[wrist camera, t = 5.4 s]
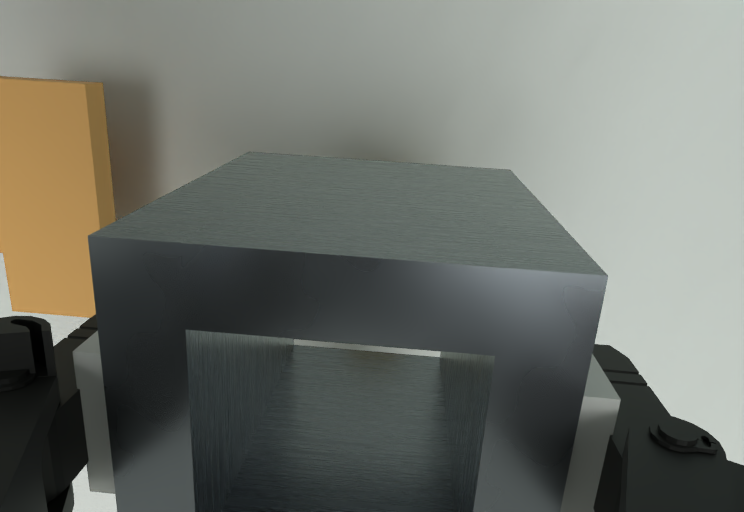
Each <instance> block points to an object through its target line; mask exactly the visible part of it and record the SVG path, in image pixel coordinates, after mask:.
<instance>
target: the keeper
mask: <svg viewBox="0 0 744 512" xmlns="http://www.w3.org/2000/svg"><path fill="white" fill-rule="evenodd" d="M115 221H116V218H115V207H114V196H113V186H112V175H111V164H110V154H109V143H108V132H107V122H106V111H105V100H104V89H103V83H100V82H84V81H68V80H53V79H37V78H21V77H6V76H0V253H3V256H4V262H5V268H6V274H7V281H8V287H9V293H10V299H11V305H12V311H18V312H30V313H42V314H53V315H65V316H77V317H89V318H91V317H92V316H94V315H95V314H96V309H95V300H94V291H93V282H92V272H91V263H90V254H89V245H88V235H90V234H92V233H94V232H96V231H98V230H100V229H101V228H103V227H105V226H107V225H109V224H111V223H113V222H115Z"/></svg>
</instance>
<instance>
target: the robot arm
mask: <svg viewBox="0 0 744 512" xmlns="http://www.w3.org/2000/svg"><path fill="white" fill-rule="evenodd" d="M86 464H87V471H88V479H89V487H90V491H93V492H103V493H113V494H115V485H114V476H113V466H112V457H111V448H110V439H109V429H108V420H107V411H106V402H105V392H104V383H103V374H102V365H101V355H100V346H99V337H98V328H97V319H96V314H95V315H94V316H92V317H91V318H90V319H88V320H87V321H86V322H85V323H83V324H82V325H81V326H80V328H79V329H76V330H74V331H73V332H72V333H70V334H69V335H68V338H64V339H63V340H62V341H60V342H59V343H58V344H56V345H55V346H54V347H53V340H52V333H51V326H50V323H48V322H47V321H46V320H44V319H42V318H37V317H33V316H11V317H3V318H0V512H72V510H73V506H74V493H73V486H72V481H73V480H74V478H75V477H76V476H77V475H78V473H79V472H80V471H81V470H82V469H83V467H84V466H85V465H86ZM560 512H744V465H740V464H737V463H734V462H731V461H728V460H727V459H726V454H725V451H724V450H723V448H722V446H721V444H720V442H719V441H717V440H716V439H715V438H714V437H713V436H712V435H710V434H709V433H708V432H707V431H705V430H703V429H701V428H700V427H698V426H696V425H694V424H692V423H690V422H687V421H684V420H681V419H679V418H676V417H672V416H670V414H669V413H668V411H667V410H666V409H665V407H664V406H663V405H662V403H661V402H660V401H659V399H658V398H657V396H656V395H655V394H654V392H653V391H652V390H651V388H650V387H649V386H647V383H646V381H645V380H644V379H643V377H642V376H641V375H639V372H638V370H637V369H636V368H635V366H634V365H633V364H632V362H631V361H630V359H629V358H628V357H626V356H625V355H623V354H622V353H620V352H619V351H617V350H616V349H614V348H613V347H611V346H610V345H598V344H594V348H593V353H592V358H591V363H590V367H589V372H588V377H587V382H586V387H585V392H584V397H583V402H582V407H581V411H580V416H579V421H578V426H577V431H576V436H575V441H574V446H573V451H572V456H571V460H570V465H569V470H568V475H567V480H566V485H565V490H564V495H563V500H562V504H561V509H560Z"/></svg>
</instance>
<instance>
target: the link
mask: <svg viewBox="0 0 744 512" xmlns="http://www.w3.org/2000/svg"><path fill="white" fill-rule="evenodd" d="M88 245H89V254H90V263H91V272H92V282H93V291H94V300H95V309H96V319H97V328H98V337H99V346H100V355H101V365H102V374H103V383H104V392H105V402H106V411H107V420H108V429H109V439H110V448H111V457H112V466H113V476H114V485H115V494H116V503H117V512H560V509H561V504H562V500H563V495H564V490H565V485H566V480H567V475H568V470H569V465H570V460H571V456H572V451H573V446H574V441H575V436H576V431H577V426H578V421H579V416H580V411H581V407H582V402H583V397H584V392H585V387H586V382H587V377H588V372H589V367H590V363H591V358H592V353H593V348H594V343H595V338H596V333H597V328H598V323H599V319H600V314H601V309H602V304H603V299H604V294H605V289H606V284H607V279H608V275H607V274H606V273H605V272H604V271H603V270H602V269H601V268H600V267H599V265H598V264H597V263H596V262H595V261H594V260H593V259H592V258H591V257H590V256H589V255H588V254H587V252H586V251H585V250H584V249H583V248H582V247H581V246H580V245H579V244H578V243H577V242H576V241H575V239H574V238H573V237H572V236H571V235H570V234H569V233H568V232H567V231H566V230H565V229H564V228H563V226H562V225H561V224H560V223H559V222H558V221H557V220H556V219H555V218H554V217H553V216H552V215H551V213H550V212H549V211H548V210H547V209H546V208H545V207H544V206H543V205H542V204H541V203H540V202H539V200H538V199H537V198H536V197H535V196H534V195H533V194H532V193H531V192H530V191H529V190H528V189H527V187H526V186H525V185H524V184H523V183H522V182H521V181H520V180H519V179H518V178H517V177H516V176H515V174H514V173H513V172H512V171H511V170H505V169H491V168H476V167H462V166H447V165H433V164H418V163H404V162H389V161H375V160H360V159H346V158H331V157H317V156H302V155H288V154H273V153H259V152H248V153H246V154H244V155H242V156H240V157H238V158H236V159H234V160H232V161H230V162H228V163H226V164H225V165H223V166H221V167H219V168H217V169H215V170H213V171H211V172H209V173H207V174H205V175H203V176H201V177H200V178H198V179H196V180H194V181H192V182H190V183H188V184H186V185H184V186H182V187H180V188H178V189H176V190H175V191H173V192H171V193H169V194H167V195H165V196H163V197H161V198H159V199H157V200H155V201H153V202H151V203H150V204H148V205H146V206H144V207H142V208H140V209H138V210H136V211H134V212H132V213H130V214H128V215H126V216H125V217H123V218H121V219H119V220H117V221H115V222H113V223H111V224H109V225H107V226H105V227H103V228H101V229H100V230H98V231H96V232H94V233H92V234H90V235H88ZM294 339H301V340H313V341H325V342H337V343H349V344H360V345H372V346H384V347H396V348H408V349H419V350H431V351H441V355H440V357H429V356H418V355H406V354H394V353H383V352H371V351H359V350H347V349H336V348H324V347H312V346H300V345H294Z"/></svg>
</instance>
